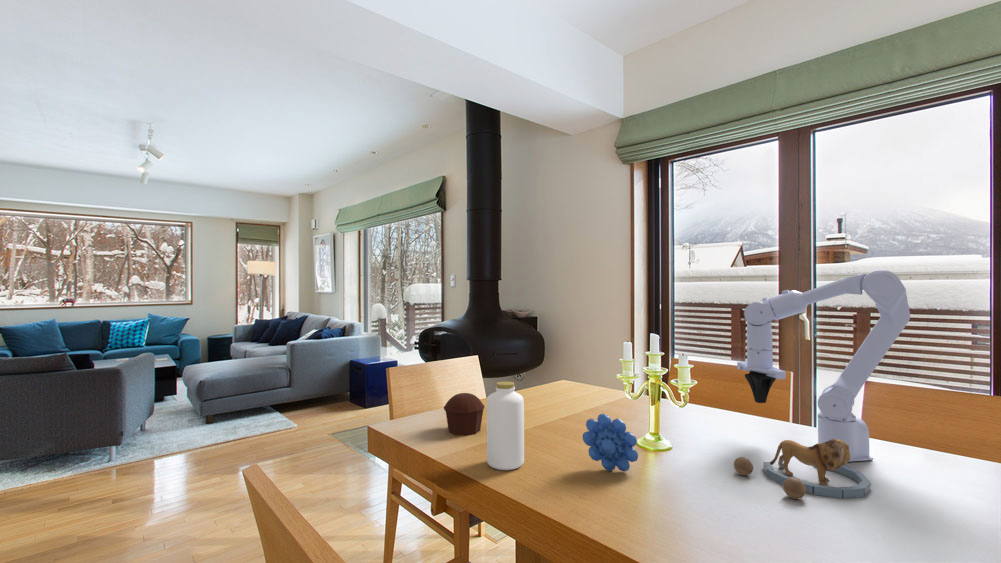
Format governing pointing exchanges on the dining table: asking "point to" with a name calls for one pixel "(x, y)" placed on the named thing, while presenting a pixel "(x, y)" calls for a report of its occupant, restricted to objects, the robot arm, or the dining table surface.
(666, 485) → the dining table surface
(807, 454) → the lion figurine
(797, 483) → the walnut bead
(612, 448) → the blue flower
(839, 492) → the groove ring
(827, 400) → the robot arm
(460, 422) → the muffin
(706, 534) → the dining table surface
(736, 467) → the walnut bead
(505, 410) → the white bottle
